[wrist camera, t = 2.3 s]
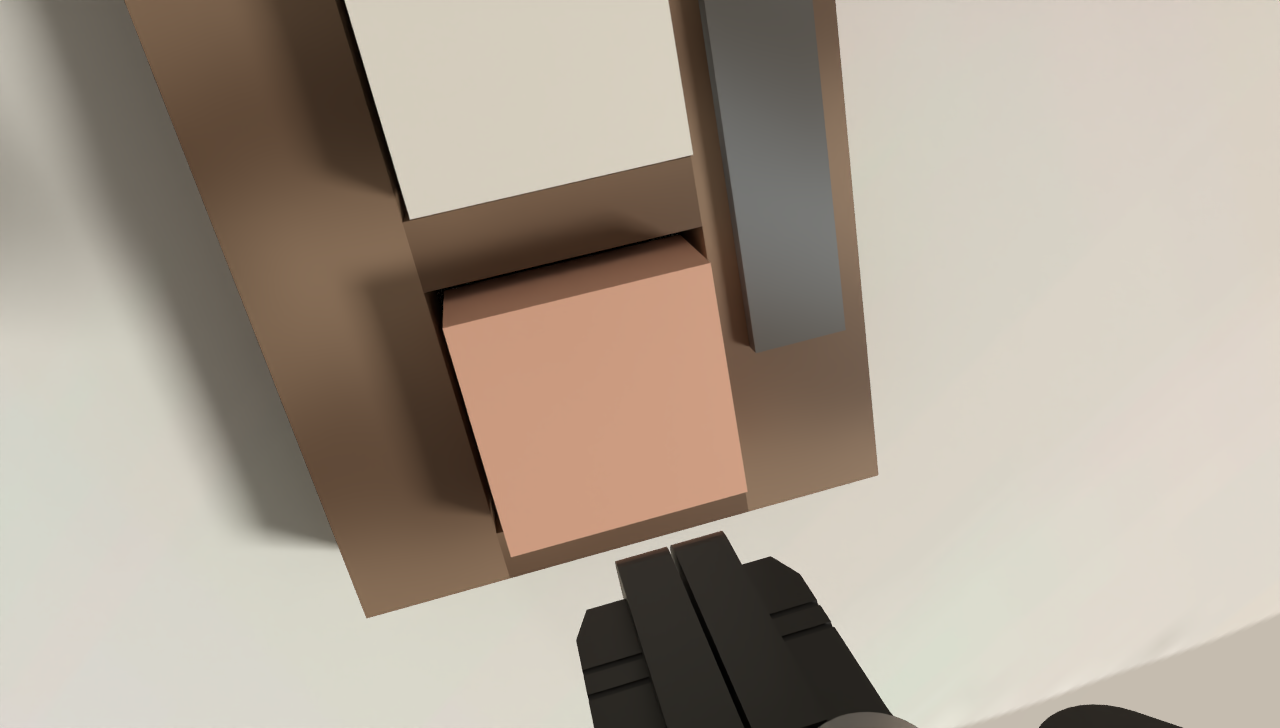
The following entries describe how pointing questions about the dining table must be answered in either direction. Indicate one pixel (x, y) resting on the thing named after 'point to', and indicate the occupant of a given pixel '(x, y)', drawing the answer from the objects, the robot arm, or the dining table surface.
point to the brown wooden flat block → (515, 267)
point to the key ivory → (519, 93)
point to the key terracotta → (597, 391)
